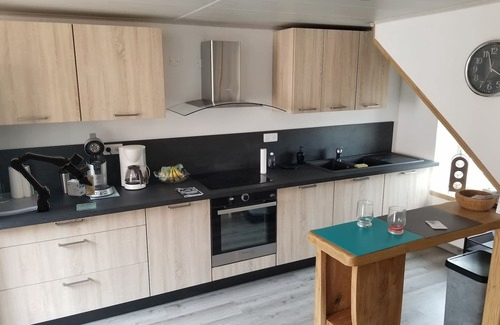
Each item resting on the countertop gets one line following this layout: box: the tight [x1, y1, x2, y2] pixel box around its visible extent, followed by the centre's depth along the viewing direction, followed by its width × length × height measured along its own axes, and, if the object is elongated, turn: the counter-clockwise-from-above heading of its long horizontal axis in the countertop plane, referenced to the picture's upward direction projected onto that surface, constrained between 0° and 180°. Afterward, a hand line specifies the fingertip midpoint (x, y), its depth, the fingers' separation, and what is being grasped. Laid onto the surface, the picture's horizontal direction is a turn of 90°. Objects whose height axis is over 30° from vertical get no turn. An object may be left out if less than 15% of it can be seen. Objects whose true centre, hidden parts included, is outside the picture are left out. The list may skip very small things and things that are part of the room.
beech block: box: [85, 174, 96, 197], centre depth 262 cm, size 5×5×13 cm
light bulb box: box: [66, 178, 87, 197], centre depth 285 cm, size 11×7×11 cm, turn 75°
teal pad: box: [76, 201, 97, 212], centre depth 258 cm, size 12×12×1 cm
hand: (92, 184), depth 263 cm, fingers closed on beech block, 5 cm apart
